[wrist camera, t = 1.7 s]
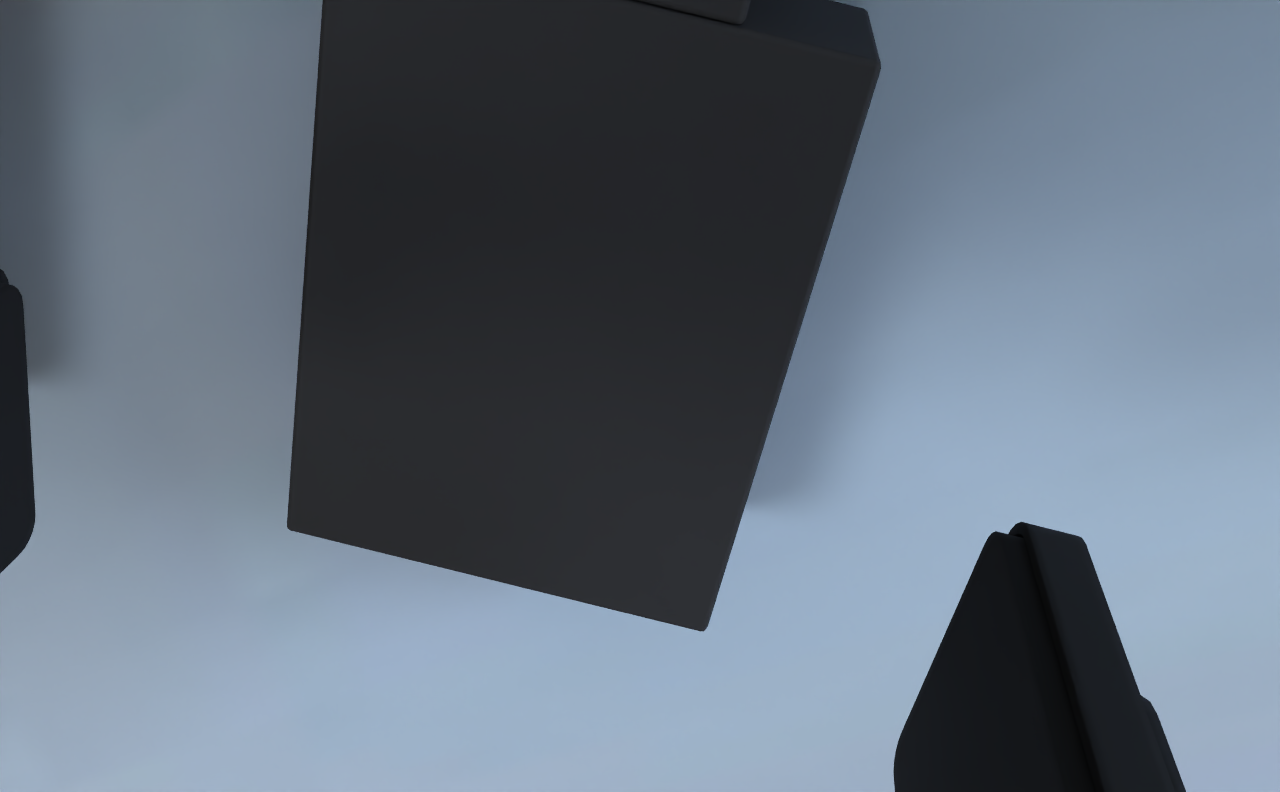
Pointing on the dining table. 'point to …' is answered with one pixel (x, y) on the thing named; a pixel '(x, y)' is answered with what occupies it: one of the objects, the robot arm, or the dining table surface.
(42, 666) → the dining table surface
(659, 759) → the dining table surface
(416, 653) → the dining table surface
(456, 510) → the pad
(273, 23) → the dining table surface
